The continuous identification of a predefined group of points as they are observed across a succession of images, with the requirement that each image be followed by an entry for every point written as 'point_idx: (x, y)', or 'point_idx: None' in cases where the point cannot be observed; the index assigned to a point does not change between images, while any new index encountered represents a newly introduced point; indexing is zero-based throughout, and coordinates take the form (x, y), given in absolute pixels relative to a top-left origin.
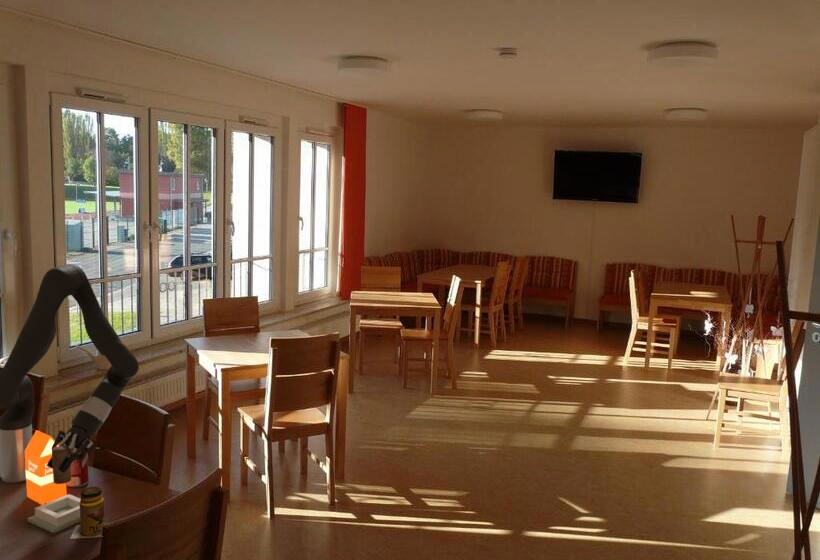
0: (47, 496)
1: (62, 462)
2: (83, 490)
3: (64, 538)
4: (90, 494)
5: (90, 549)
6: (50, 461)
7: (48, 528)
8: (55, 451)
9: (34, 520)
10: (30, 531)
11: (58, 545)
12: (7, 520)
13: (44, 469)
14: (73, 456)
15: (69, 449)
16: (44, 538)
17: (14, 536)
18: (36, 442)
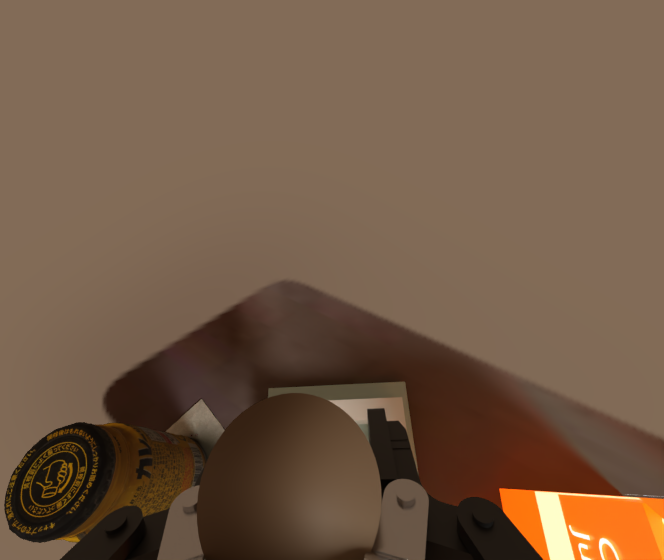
0: (515, 519)
1: None
2: (94, 451)
3: (220, 393)
4: (34, 445)
5: (109, 402)
6: (369, 424)
7: (293, 387)
8: (265, 402)
9: (371, 385)
10: (337, 357)
11: (205, 362)
12: (455, 351)
13: (591, 530)
14: (121, 513)
15: (200, 557)
16: (269, 360)
17: (345, 319)
18: None
